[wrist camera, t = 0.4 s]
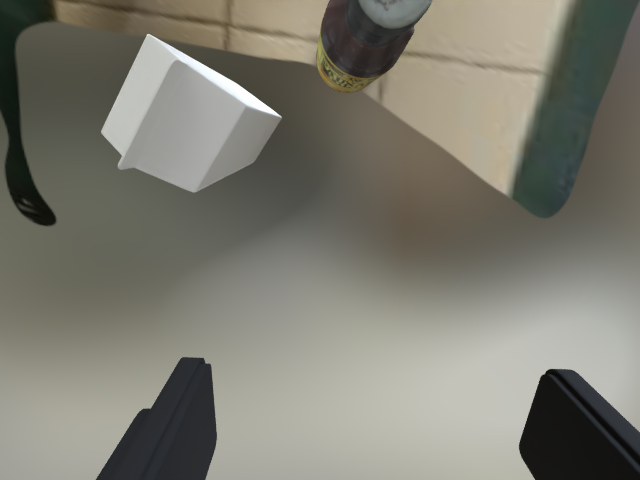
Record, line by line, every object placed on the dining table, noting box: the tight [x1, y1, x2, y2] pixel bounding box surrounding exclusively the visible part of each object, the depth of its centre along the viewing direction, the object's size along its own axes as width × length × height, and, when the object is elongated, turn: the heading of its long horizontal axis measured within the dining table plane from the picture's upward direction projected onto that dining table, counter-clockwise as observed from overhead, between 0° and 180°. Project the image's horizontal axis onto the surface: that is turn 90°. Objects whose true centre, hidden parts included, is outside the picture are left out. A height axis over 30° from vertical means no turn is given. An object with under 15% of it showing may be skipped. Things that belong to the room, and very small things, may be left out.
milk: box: [101, 34, 282, 193], centre depth 25 cm, size 6×6×22 cm
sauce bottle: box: [316, 0, 432, 93], centre depth 25 cm, size 7×6×20 cm
